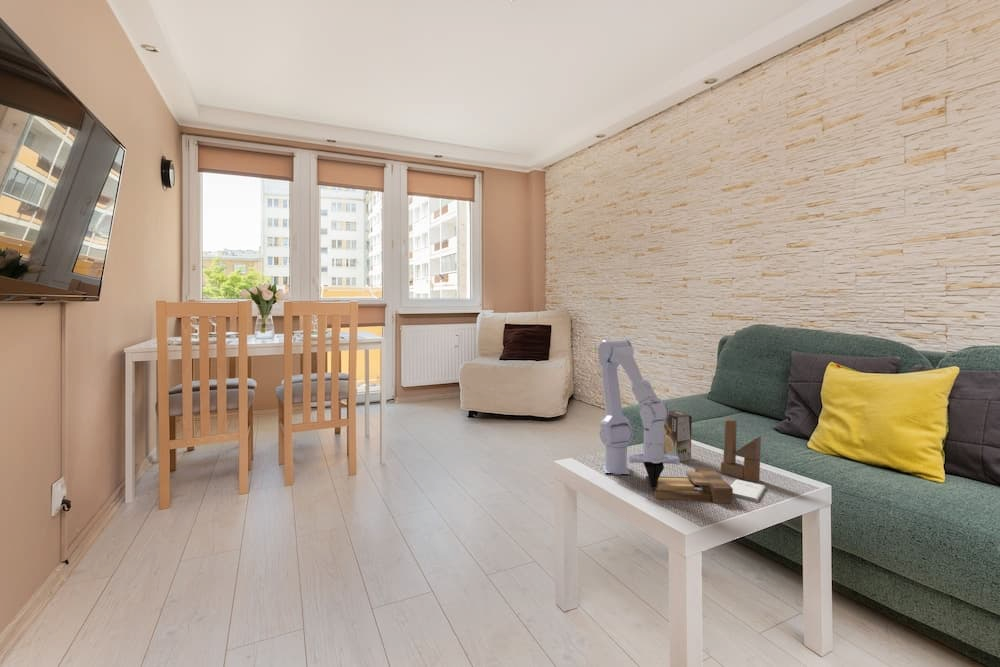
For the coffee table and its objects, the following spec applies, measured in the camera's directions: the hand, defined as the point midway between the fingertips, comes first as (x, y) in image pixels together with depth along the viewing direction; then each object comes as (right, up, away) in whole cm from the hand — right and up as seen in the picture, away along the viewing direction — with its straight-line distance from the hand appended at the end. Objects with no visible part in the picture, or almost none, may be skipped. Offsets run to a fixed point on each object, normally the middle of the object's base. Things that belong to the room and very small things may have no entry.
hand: (652, 486), depth 138 cm
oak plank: (+6, -1, 0) cm, 6 cm away
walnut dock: (+9, -1, -1) cm, 9 cm away
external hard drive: (+27, -2, -2) cm, 27 cm away
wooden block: (+31, 0, +10) cm, 33 cm away
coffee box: (+18, +1, +29) cm, 35 cm away
